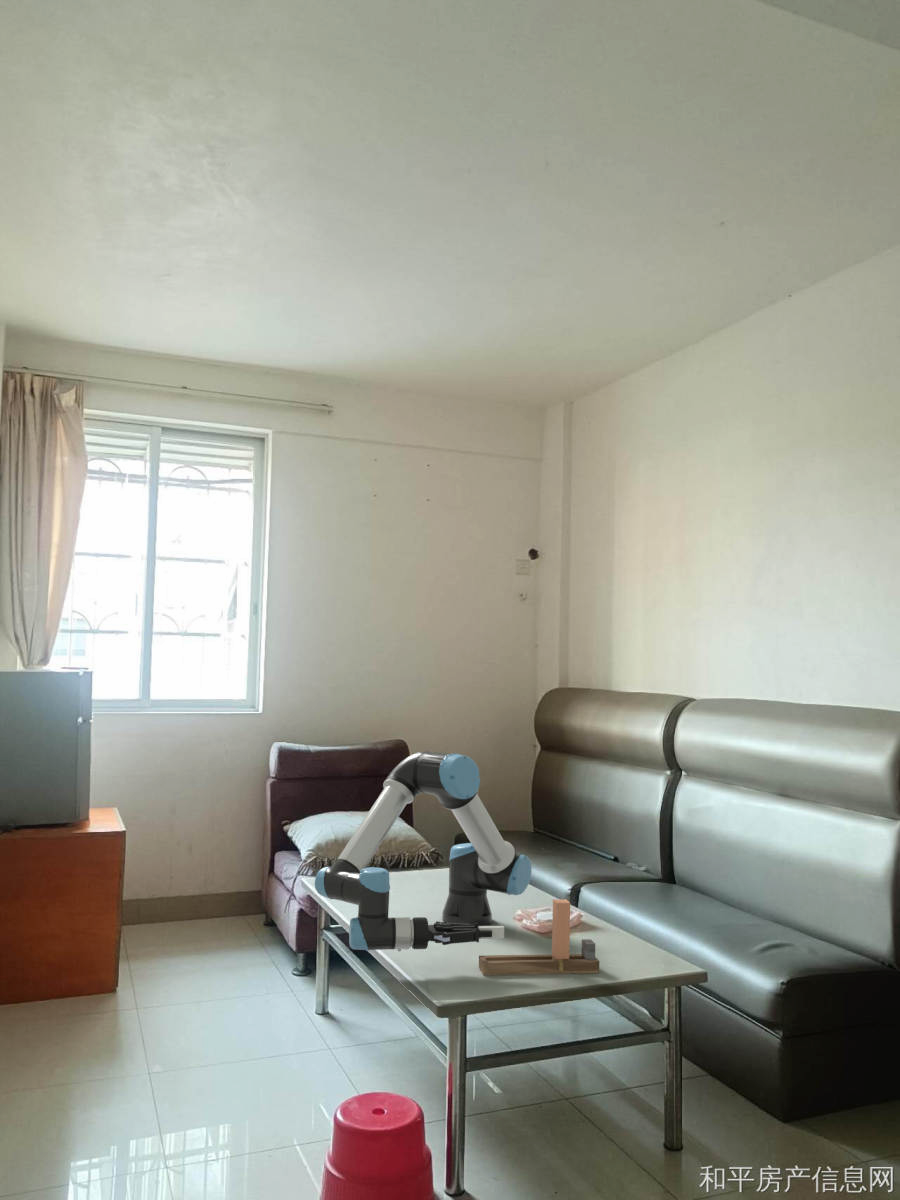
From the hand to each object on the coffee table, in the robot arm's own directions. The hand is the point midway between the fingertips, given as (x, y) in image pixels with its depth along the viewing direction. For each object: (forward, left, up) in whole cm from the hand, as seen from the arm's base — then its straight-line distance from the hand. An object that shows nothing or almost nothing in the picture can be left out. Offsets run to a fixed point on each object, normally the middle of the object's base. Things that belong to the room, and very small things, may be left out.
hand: (503, 932), depth 235 cm
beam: (0, +9, -10) cm, 13 cm away
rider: (0, +15, -10) cm, 18 cm away
